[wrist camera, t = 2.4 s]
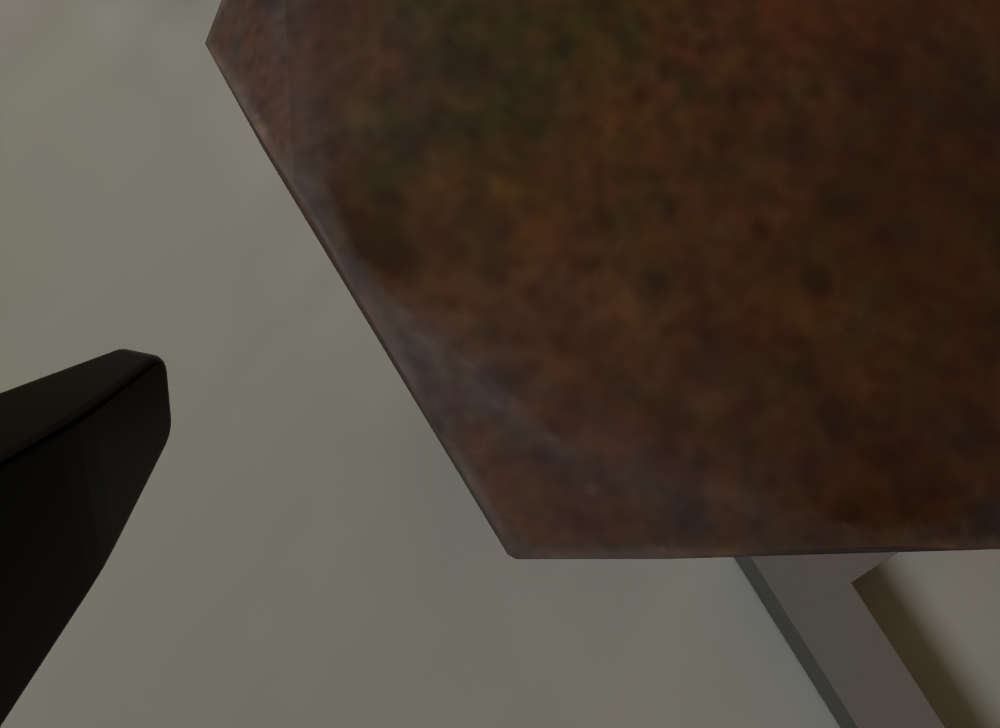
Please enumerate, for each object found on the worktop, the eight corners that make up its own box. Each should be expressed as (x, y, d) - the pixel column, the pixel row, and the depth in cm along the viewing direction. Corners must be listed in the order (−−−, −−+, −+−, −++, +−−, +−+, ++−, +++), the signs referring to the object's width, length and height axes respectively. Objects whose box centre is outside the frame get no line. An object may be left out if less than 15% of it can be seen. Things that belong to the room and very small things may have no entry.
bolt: (422, 541, 18) (137, 575, 3) (420, 320, 19) (200, -452, 4) (685, 533, 18) (1620, 530, 3) (669, 314, 19) (1316, -449, 4)
